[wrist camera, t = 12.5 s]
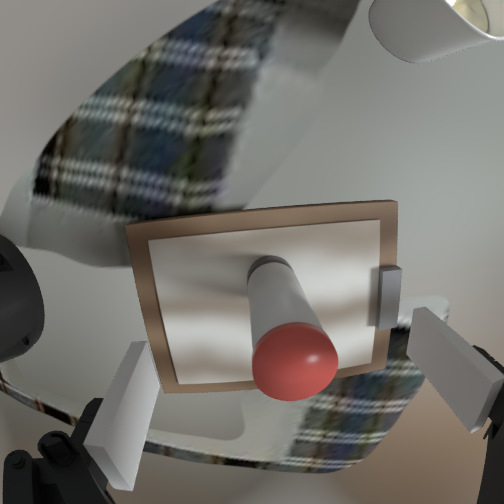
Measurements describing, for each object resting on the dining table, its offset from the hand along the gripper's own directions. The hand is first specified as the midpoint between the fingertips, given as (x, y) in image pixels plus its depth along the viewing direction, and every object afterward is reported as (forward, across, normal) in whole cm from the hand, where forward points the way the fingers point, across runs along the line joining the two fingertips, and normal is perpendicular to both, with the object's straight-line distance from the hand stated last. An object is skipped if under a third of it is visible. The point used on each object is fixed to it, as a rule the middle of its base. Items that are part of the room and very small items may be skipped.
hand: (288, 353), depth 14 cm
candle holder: (+15, +17, +23) cm, 32 cm away
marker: (+13, +1, -1) cm, 13 cm away
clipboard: (+15, +1, -4) cm, 15 cm away
